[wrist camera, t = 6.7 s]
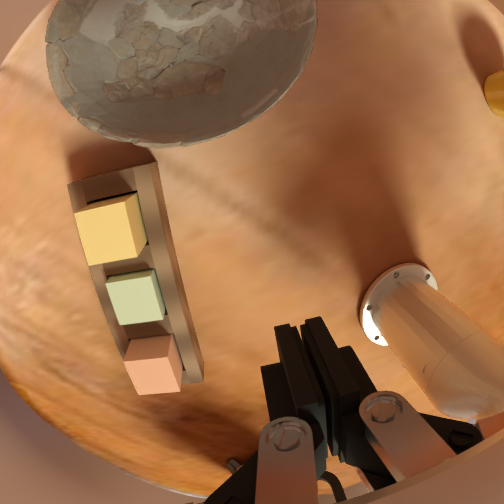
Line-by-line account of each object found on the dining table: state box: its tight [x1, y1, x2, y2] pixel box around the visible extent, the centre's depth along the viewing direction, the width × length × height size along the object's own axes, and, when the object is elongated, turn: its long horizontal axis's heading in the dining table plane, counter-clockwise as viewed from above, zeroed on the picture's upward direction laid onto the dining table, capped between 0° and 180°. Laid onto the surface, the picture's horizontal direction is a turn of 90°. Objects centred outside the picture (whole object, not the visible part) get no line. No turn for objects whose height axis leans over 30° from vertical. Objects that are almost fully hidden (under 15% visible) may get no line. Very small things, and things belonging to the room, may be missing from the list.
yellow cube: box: [74, 192, 148, 266], centre depth 29 cm, size 5×5×5 cm
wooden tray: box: [67, 161, 204, 385], centre depth 35 cm, size 26×9×4 cm, turn 8°
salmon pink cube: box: [123, 333, 183, 395], centre depth 34 cm, size 5×5×5 cm
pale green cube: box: [105, 268, 166, 325], centre depth 34 cm, size 5×5×5 cm
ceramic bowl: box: [45, 0, 318, 149], centre depth 24 cm, size 22×23×10 cm
